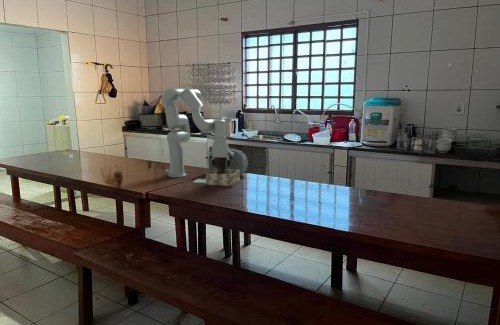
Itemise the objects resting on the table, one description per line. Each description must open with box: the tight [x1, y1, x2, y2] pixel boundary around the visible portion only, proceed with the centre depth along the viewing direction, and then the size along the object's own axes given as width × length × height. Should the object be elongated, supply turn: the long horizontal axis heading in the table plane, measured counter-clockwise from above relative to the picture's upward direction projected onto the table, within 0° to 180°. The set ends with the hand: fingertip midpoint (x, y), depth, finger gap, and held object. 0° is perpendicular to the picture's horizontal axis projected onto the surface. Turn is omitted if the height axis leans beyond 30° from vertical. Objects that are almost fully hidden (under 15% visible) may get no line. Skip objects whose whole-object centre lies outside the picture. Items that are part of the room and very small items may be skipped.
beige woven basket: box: [205, 169, 241, 187], centre depth 231 cm, size 18×15×7 cm
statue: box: [217, 158, 226, 174], centre depth 230 cm, size 7×7×20 cm
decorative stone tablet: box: [207, 145, 249, 176], centre depth 252 cm, size 19×6×30 cm
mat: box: [192, 178, 206, 184], centre depth 235 cm, size 9×9×1 cm
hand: (221, 166), depth 230 cm, fingers open, 9 cm apart
